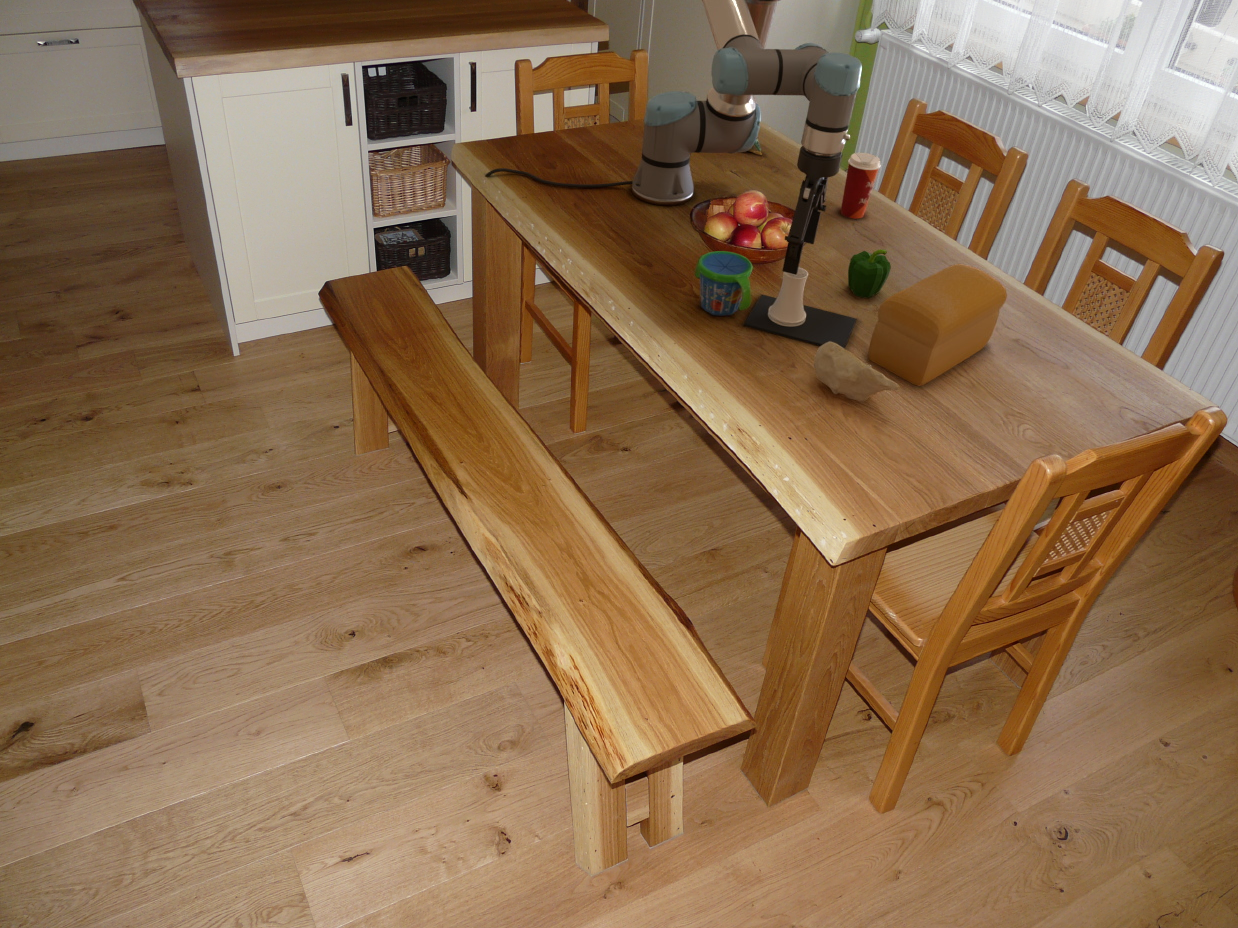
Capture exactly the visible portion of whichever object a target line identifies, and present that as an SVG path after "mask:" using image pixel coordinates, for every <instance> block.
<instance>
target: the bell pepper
mask: <svg viewBox="0 0 1238 928" xmlns="http://www.w3.org/2000/svg"><path fill="white" fill-rule="evenodd" d="M887 253H888V251H887V250H886V249H877V250H875V251H873V252H872V253H870V252H868V251H867V250H862V251H861V252H858V253H856V254H853V255H852V256H851V258H850V260H849V265H848V273H847V282H848V283H847V284H848V288H849V290H850V291H852V293H853V295H854V296H857V297H858V298H865V299H868V298H872V297H873V296H876V295H877V294H878V293H879V292H880V291H881V290H882V288H883V287H884V285H885V283H886V281H888V278H889V275H890V272H891V269H892V267H891V265H892V264H891V262H890V261H889V260H888V258H887V256H886V255H887Z"/></svg>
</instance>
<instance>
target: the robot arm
mask: <svg viewBox="0 0 1238 928" xmlns="http://www.w3.org/2000/svg"><path fill="white" fill-rule="evenodd" d="M701 1H702V5H703V8H704V11H705V15H706V18H707V21H708V24H709V28H710V30H711V31H710V32H711V33H712V37H713V40H714V43H715V47H716V49H717V50H716V51H715V53H714V55H713V58H712V63H711V84H712V87H711V88H710V89H708V92H707V94H706V95H707V96H706V99H705V100H698V99H697V97H696V95H695V94H694V93H692V92H689V91H683V90H670V91H664V92H660V93H657V94H655V95H654V96H653V97H651V98H649V100H648V101H647V103H646V106H645V113H644V117H643V138H642V146H641V147H642V148H641V159H640V162H639V164H638V167H637V168H636V172H635V173H634V176H633V178H632V180H628V181H618V182H617V181H616V182H609V183H594V184H593V183H592V184H590V183H589V184H584V183H583V184H581V183H579V184H578V183H563V182H555V181H551V180H546V179H542V178H540V177H538V176H536V175H534V174H532V173H530V172H527V171H523V170H518V169H517V170H515V169H511V168H505V167H503V168H502V167H498V168H494V169H491V170H490V171H488V172H487V173H486V174H485V175H484V177H485V178H489V177H490V176H492V175H493V174H496V173H503V172H504V173H510V174H511V173H512V174H518V175H523V176H526V177H528V178H531V179H532V180H535V181H537V182H538V183H542V184H545V185H549V186H554V187H555V186H556V187H563V188H581V189H586V188H587V189H595V188H609V187H610V188H611V187H612V188H613V187H617V186H619V187H620V186H628V185H629V186H630V185H631V193H632V195H633V196H634V197H635V198H637V199H638V200H640V201H643V202H645V203H647V204H652V205H657V206H678V205H683V204H686V203H688V202H689V201H691V200H692V199H693V197H694V191H695V190H694V189H695V187H694V182H693V177H692V172H691V166H690V161H691V154H695V153H697V154H699V153H700V154H701V153H703V154H705V153H706V154H708V153H709V154H711V153H712V154H722V153H723V154H731V155H732V154H736V153H745V152H747V151H749V149H750V148H751V147H752V146H753V147H754V145H753V144H754V143H755V141H756V139H757V140H758V136H759V132H760V128H761V126H760V123H761V119H762V113H761V108H760V106H759V104H758V103H757V99H756V96H803V97H805V98H806V99H807V100H808V101H809V103H808V109H807V113H806V118H805V122H804V126H803V131H802V136H801V142H800V143H801V146H800V148H799V151H798V158H797V161H796V166H797V168H798V170H799V171H800V172H801V173H803V174H804V175H805V177H804V179H802V182H801V185H800V188H799V194H798V198H797V202H796V206H795V210H794V213H793V217H792V220H791V224H790V228H789V231H788V235H785V236H784V241H786V242H787V247H786V251H785V257H784V261H783V266H782V271H781V272H782V273H783V272H787V273H791V274H795V275H797V272H798V268H799V267H800V263H801V258H802V253H803V248H804V244H810V245H814V244H815V241H816V236H817V231H818V227H819V223H820V218H821V215H822V212H823V213H824V212H826V209H827V205H826V204H825V203H826V195H827V190H828V189H827V188H828V181H829V178H832V177H834V176H836V175H838V173H839V171H840V168H841V163H842V159H843V151H844V149H845V144H846V141H850V139H851V135H850V134H849V133H848V132H849V128H850V124H851V119H852V116H853V112H854V109H855V108H854V107H855V104H856V99H857V95H858V90H859V88H860V86H861V76H862V69H863V65H862V62H861V60H860V59H859V58H857V57H855V56H852V55H851V54H849V53H844V52H829V51H827V49H825V48H824V47H822V46H820V45H819V44H817V43H814V42H805V43H802V44H800V45H799V46H797V47H795V48H793V49H792V48H789V49H786V48H783V49H781V48H766V46H767V42H768V39H769V35H770V31H771V28H772V24H773V20H774V16H775V13H776V9H777V6H778V2H779V1H781V0H701ZM751 149H752V148H751Z"/></svg>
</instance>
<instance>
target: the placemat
mask: <svg viewBox="0 0 1238 928" xmlns="http://www.w3.org/2000/svg"><path fill="white" fill-rule="evenodd" d="M776 299H777V297H774V296H770V295H766V294H761V295H760V296H759V298H758V300H757V301H756V303H755V305H754V306H753V308H752V309H751V311H750V313H749V314H748V316H747V318H746V320H745V321H744V323H743V327H746V328H749V329H754V330H757V331H761V332H766V333H769V334H772V335H776V336H780V337H783V338H788V339H791V340H795V341H798V342H802V343H806V344H809V345H813V346H817V347H820V346H822V345H823V344H825V343H827V342H829V341H830V342H834V343H836V344H838V345H839V346H841V347H842V348H844V349H846V346H847V343H848V341H849V338H850V337H851V334H852V332H853V329H854V327H855V324H856V322H857V318H855V317H851V316H848V315H844V314H841V313H837V312H833V311H829V310H825V309H821V308H817V307H813V306H808V305H806V304H803V307H804V311H805V313H806V318H805V322H804V323H803V324H801V325H799V326H793V327H789V326H783V325H779V324H777V323H775V322H773V321H772V320H771V319H770V318H769V317H768V312H769V308H770V306H772V305H773V304H774V302H775V301H776Z"/></svg>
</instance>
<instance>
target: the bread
mask: <svg viewBox="0 0 1238 928" xmlns="http://www.w3.org/2000/svg"><path fill="white" fill-rule="evenodd" d="M1007 297H1008V293H1007V288H1006V287H1005V286H1004V285H1003V284H1002V283H1001V282H1000V281H999V280H998V279H996V278H994V277H993V276H992V275H990V274H989V273H987V272H985V271H984V270H982V269H979V268H977V267H974V266H970V265H967V264H963V263H955V264H951V265H949V266H947V267H944V268H943V269H941V270H939V271H937V272H936V273H933V274H931V275H929V276H928V277H926V278H924V279H921V280H919V281H918V282H916V283H914V284H912V285H910V286H908V287H905V288H904V289H902V290H900V291H898V292H896V293H894V294H892V295H891V296H889V297H887V298H886V299H885V300H884V301H883V302H882V303H881V304H880V306H879V307H878V312H877V319H878V320H877V322H876V324H875V327H874V329H873V332H872V335H871V338H870V341H869V345H868V359H869V361H871V362H873V363H874V364H877V365H878V366H879V367H882V368H883V369H885V370H887V371H888V372H891V373H892V374H894V375H896V376H898V377H899V378H901V379H902V380H905V381H907V382H908V383H910V384H912V385H914V386H918V387H920V386H924V385H926V384H928V383H930V382H931V381H933V380H934V379H937V378H938V377H939V376H941V375H942V374H944V373H946V372H947V371H949V370H951V369H952V368H954V367H956V366H957V365H958V364H960V363H962V362H963V361H965V360H967V359H969V358H970V357H971V356H973V355H975V354H977V353H978V352H979V351H981V350H982V349H984V348H985V347H986V346H987V344H988V342H989V340H990V339H991V337H992V335H993V333H994V331H995V328H996V325H997V323H998V319H999V317H1000V316H999V315H1000V310H1001V308H1002V307H1003V306H1004V304H1005V303H1006V301H1007Z"/></svg>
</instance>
